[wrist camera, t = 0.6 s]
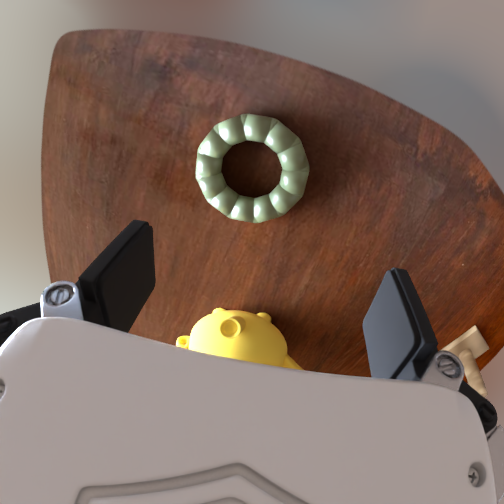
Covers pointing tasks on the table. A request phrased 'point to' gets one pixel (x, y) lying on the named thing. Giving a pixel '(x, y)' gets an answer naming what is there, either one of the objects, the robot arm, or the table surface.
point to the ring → (258, 131)
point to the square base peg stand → (470, 356)
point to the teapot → (240, 338)
